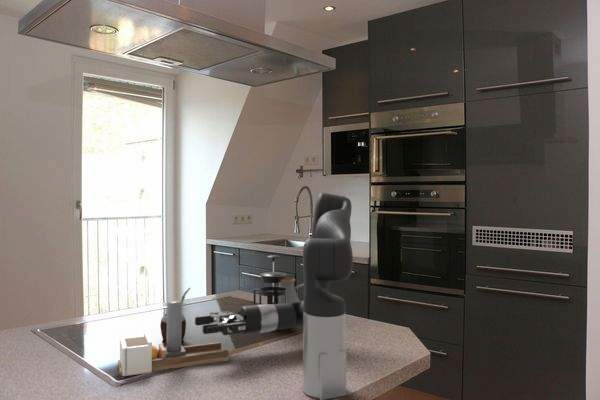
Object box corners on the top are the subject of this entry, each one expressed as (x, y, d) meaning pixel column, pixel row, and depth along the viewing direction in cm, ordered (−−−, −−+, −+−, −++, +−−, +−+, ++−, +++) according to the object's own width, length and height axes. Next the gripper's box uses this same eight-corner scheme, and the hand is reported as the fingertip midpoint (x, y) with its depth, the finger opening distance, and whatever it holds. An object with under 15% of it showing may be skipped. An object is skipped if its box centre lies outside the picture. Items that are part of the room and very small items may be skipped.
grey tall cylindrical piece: (186, 359, 116) (186, 303, 116) (162, 362, 114) (162, 305, 114) (181, 352, 122) (182, 299, 121) (158, 355, 119) (159, 301, 119)
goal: (151, 372, 111) (151, 342, 111) (122, 376, 109) (122, 345, 109) (146, 359, 120) (147, 332, 119) (119, 363, 117) (120, 334, 117)
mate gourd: (157, 346, 131) (157, 292, 131) (164, 337, 139) (165, 287, 138) (184, 346, 131) (184, 292, 131) (190, 337, 139) (190, 287, 139)
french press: (291, 322, 156) (292, 254, 156) (285, 330, 147) (286, 257, 147) (257, 320, 158) (258, 253, 158) (249, 328, 149) (250, 256, 149)
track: (228, 360, 120) (228, 350, 120) (120, 375, 109) (120, 365, 109) (220, 351, 127) (220, 341, 127) (117, 364, 116) (117, 354, 116)
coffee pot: (268, 319, 160) (269, 275, 160) (271, 311, 172) (271, 270, 172) (330, 320, 160) (331, 276, 160) (329, 312, 171) (329, 271, 171)
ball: (139, 354, 113) (146, 367, 113) (154, 344, 114) (162, 358, 115) (137, 349, 116) (144, 362, 117) (152, 340, 118) (159, 353, 118)
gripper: (249, 299, 134) (192, 304, 127) (267, 310, 121) (205, 317, 114) (249, 326, 134) (192, 332, 127) (267, 339, 121) (205, 347, 114)
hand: (199, 325), depth 120 cm, fingers open, 8 cm apart
